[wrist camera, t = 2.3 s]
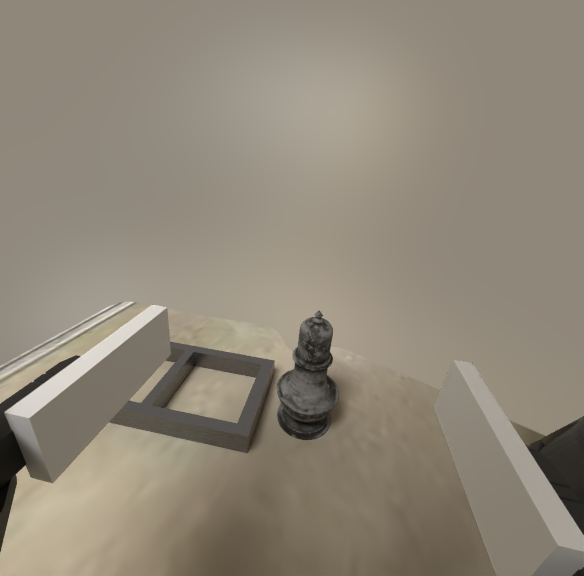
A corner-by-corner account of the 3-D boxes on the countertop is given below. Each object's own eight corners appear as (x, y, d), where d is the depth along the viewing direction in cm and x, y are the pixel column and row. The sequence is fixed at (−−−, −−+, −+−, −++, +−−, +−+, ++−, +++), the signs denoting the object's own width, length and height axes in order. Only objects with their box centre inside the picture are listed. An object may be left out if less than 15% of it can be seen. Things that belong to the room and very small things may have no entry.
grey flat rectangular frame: (273, 374, 34) (274, 360, 33) (247, 452, 25) (247, 436, 24) (120, 345, 36) (118, 332, 35) (45, 408, 27) (39, 391, 26)
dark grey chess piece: (262, 421, 28) (269, 312, 23) (294, 385, 32) (305, 289, 27) (316, 455, 25) (337, 340, 20) (342, 411, 30) (365, 309, 25)
